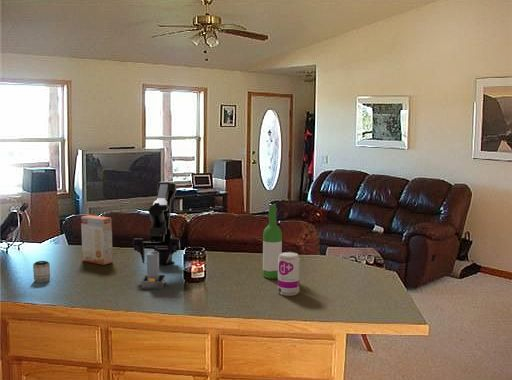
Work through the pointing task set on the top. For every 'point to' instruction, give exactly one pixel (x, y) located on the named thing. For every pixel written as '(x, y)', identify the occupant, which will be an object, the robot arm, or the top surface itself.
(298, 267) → the supplement can
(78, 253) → the top surface
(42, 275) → the camera lens
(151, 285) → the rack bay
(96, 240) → the cracker box
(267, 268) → the wine bottle
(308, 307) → the top surface
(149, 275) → the grey rectangular prism
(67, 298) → the top surface
